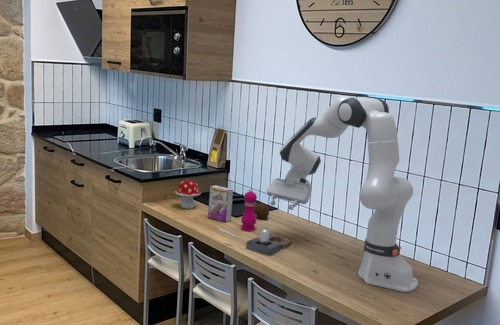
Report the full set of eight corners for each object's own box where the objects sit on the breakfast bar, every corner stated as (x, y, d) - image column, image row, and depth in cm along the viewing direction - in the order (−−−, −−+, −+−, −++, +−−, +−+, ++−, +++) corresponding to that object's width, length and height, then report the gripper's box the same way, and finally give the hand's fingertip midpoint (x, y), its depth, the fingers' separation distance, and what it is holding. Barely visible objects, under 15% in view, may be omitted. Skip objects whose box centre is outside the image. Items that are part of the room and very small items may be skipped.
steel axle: (269, 249, 219) (271, 229, 218) (264, 252, 216) (266, 231, 214) (261, 247, 222) (263, 227, 220) (256, 249, 218) (258, 229, 217)
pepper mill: (254, 232, 240) (257, 191, 236) (239, 230, 241) (241, 189, 237) (257, 228, 247) (260, 187, 243) (242, 226, 248) (245, 186, 244)
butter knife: (221, 228, 243) (216, 229, 241) (255, 243, 226) (250, 244, 224) (221, 228, 243) (216, 230, 241) (255, 244, 226) (250, 245, 224)
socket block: (280, 250, 219) (280, 243, 218) (269, 255, 212) (270, 249, 212) (256, 243, 226) (257, 237, 225) (246, 248, 219) (246, 241, 218)
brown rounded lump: (263, 221, 258) (264, 206, 256) (249, 216, 264) (250, 201, 263) (272, 219, 263) (273, 204, 262) (258, 214, 270) (259, 199, 268)
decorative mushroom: (205, 206, 277) (206, 179, 274) (191, 212, 264) (193, 184, 261) (183, 202, 282) (184, 175, 279) (169, 208, 270) (170, 180, 267)
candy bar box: (207, 218, 257) (209, 186, 254) (213, 216, 261) (215, 184, 258) (225, 223, 251) (227, 190, 248) (231, 220, 255) (233, 189, 252)
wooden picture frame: (291, 244, 227) (292, 240, 227) (282, 249, 220) (282, 245, 220) (269, 238, 234) (269, 234, 233) (258, 242, 227) (259, 238, 226)
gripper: (272, 173, 235) (259, 198, 229) (311, 182, 224) (298, 207, 218) (276, 181, 240) (263, 205, 234) (315, 190, 229) (303, 215, 222)
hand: (281, 206), depth 226 cm, fingers open, 8 cm apart
